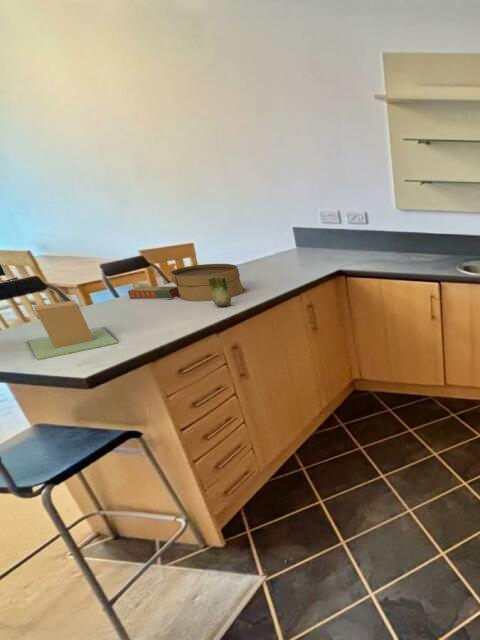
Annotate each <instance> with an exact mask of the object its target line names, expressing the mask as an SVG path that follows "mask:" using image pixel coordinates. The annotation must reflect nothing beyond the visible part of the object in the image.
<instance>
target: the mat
mask: <svg viewBox="0 0 480 640" xmlns="http://www.w3.org/2000/svg"><path fill="white" fill-rule="evenodd" d="M90 332H91V334H92V337H93V339H94V340H93V341H88V342H83V343H78V344H73V345H68V346H62V347H57V348H55V347H54V345H53V344H52V342H51V340H50V338H49V337H47V338H41V339H36V340H32V341H31V340H30V341H28V344H29V345H30V348H31V350H32V352H33V354H34V356H35V358H36V360H37V361H41V360H45V359H50V358H54V357H55V358H56V357H59V356H64V355H68V354H75V353H78V352H83V351H84V352H85V351H89V350H93V349H99V348H104V347H107V346H108V347H109V346H113V345H118V344H119V342H118V341H117V340H116V339H115V337H113V336H112V335H111V334H110V333H109V332H108V331H107V330H106V329H105V328H96V329H92V330H90Z"/></svg>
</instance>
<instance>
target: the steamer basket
mask: <svg viewBox="0 0 480 640" xmlns="http://www.w3.org/2000/svg"><path fill="white" fill-rule="evenodd" d="M170 276H171V279H172V283H173V284H174V285H176V286H177V289H178V292H179V295H180V296H179V298H180V299H181V300H183V301H189V302H206V301H213V297H212V290H211V286H210V283H209V281H208V278H212V277H215V280H216V278H217V277H220V280H221V283H222V279H221V278H225V280H226V284H227V287H228V290H229V293H230V297H231V298H233V297H234V296H238V295H240V294H241V293H243V292H244V288H243V285H242V281H241V278H240V277H241V275H240V271H239V268H238V266H237V265H236V264H231V263H206V264H205V263H204V264H195V265H188V266H182V267H179V268H175V269H174V270H172V271H170ZM212 281H213V280H212ZM216 282H217V280H216ZM217 285H218V283H217ZM176 286H175V287H176ZM222 286H223V284H222ZM218 287H219V286H218Z"/></svg>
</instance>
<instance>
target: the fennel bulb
mask: <svg viewBox="0 0 480 640" xmlns="http://www.w3.org/2000/svg"><path fill="white" fill-rule="evenodd" d="M221 279H222V283H221V280H220V277H217V278H216V280H217V282H216V280H215V277H212V278H208V281H209V283H210V286H211V290H212V297H213V300H212V301H213V303H214V305H215V306H217V307H229V306H230V305H231V303H232V299H231V298H232V297H230V293H229V290H228V287H227V284H226V280H225V278H221ZM212 280H213V281H212ZM217 283H218V285H217ZM222 284H223V286H222ZM218 286H219V287H218Z"/></svg>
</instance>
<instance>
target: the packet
mask: <svg viewBox="0 0 480 640" xmlns="http://www.w3.org/2000/svg"><path fill="white" fill-rule="evenodd" d="M32 307H33V309H34V311H35V313H36V315H37V317H38V319H39V321H40V323H41V324H42V326H43V328H44V331H45V333H46V335H47V336H48V338H50V340H51V342H52V344H53V345H54V347H55V348H57V347H62V346H68V345H73V344H78V343H83V342H88V341H93V340H94V339H93V337H92V334H91V332H90V331H91V330H90V328H89V326H88V324H87V322H86V319H85V317H84V315H83V312H82V311H81V308H80V306H79V304H78V303H77V302H76V301H75V300H74V299H73V300H67V301H60V302H59V301H58V302H52V303H44V304H38V305H33V306H32Z"/></svg>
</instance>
